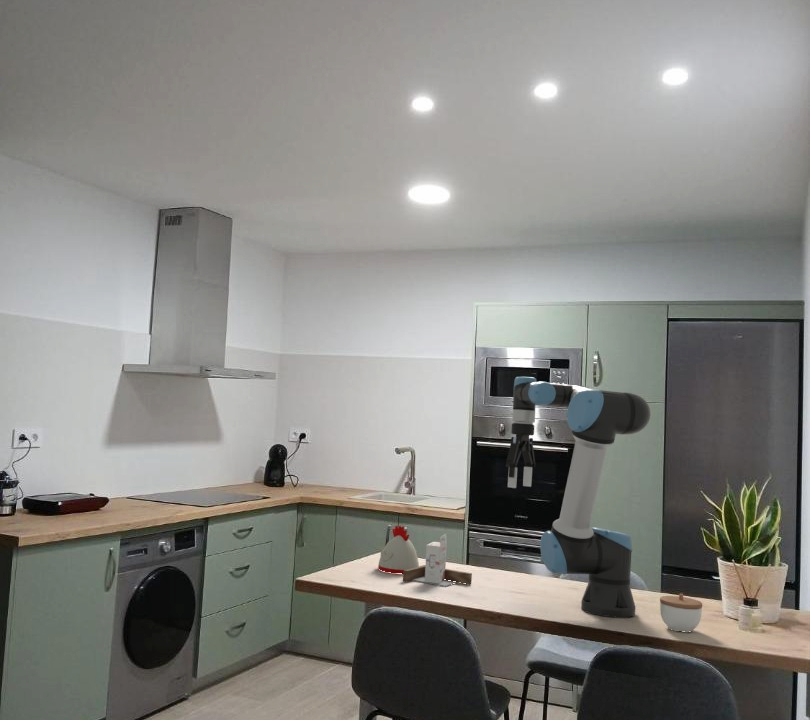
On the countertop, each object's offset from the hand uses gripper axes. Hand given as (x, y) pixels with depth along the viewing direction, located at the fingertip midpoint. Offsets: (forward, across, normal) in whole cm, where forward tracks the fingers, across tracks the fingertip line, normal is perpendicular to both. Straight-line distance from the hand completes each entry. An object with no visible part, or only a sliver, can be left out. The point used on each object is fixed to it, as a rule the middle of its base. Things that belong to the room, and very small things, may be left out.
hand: (519, 487), depth 253 cm
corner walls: (+32, +19, -19) cm, 41 cm away
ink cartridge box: (+31, +18, -20) cm, 42 cm away
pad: (+32, +18, -20) cm, 42 cm away
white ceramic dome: (+32, +11, -38) cm, 51 cm away
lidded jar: (+32, +21, +56) cm, 68 cm away
